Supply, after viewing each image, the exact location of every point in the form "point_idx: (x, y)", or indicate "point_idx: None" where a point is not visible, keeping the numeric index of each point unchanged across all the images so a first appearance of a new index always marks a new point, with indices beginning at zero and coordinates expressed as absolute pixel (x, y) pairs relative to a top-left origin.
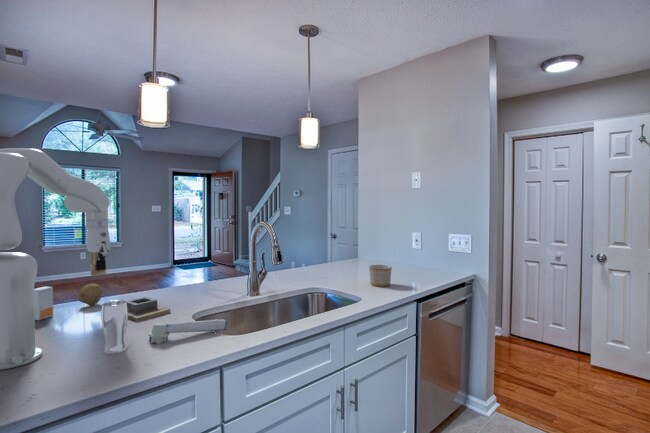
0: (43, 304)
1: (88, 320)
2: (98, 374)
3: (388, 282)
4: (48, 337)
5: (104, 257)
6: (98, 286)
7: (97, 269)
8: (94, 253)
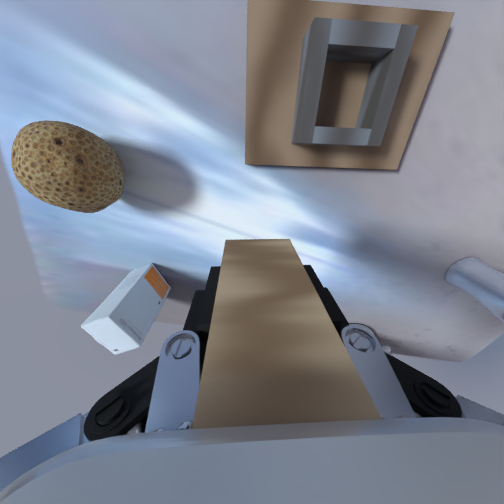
0: (153, 303)
1: (261, 232)
2: None
3: None
4: None
5: (402, 370)
6: (64, 147)
7: None
8: None
